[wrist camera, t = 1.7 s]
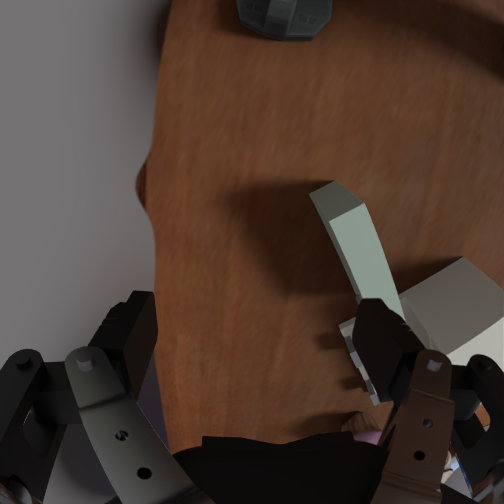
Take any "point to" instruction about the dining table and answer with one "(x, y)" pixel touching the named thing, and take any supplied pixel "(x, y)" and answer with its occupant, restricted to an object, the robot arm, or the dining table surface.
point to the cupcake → (363, 428)
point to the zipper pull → (285, 17)
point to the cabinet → (450, 316)
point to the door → (356, 244)
